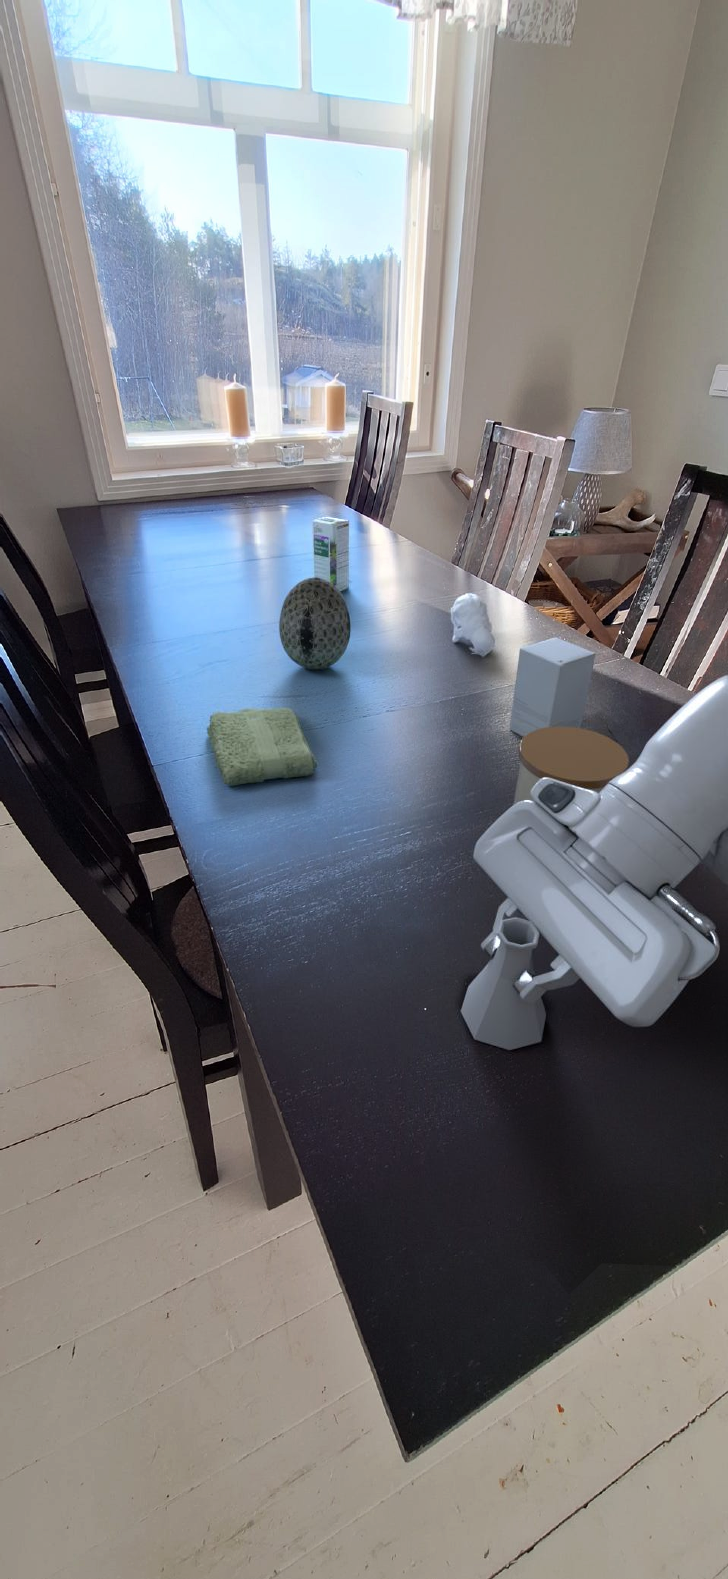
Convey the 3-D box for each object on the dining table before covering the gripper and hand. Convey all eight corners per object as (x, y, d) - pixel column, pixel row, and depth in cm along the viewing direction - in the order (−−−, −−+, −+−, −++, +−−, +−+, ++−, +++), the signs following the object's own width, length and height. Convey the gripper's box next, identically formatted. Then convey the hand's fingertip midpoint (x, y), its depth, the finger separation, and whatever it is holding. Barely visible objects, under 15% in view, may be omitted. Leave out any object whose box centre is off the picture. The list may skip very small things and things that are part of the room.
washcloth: (294, 716, 103) (293, 696, 101) (321, 779, 89) (320, 757, 87) (205, 727, 100) (202, 707, 98) (218, 794, 86) (215, 772, 84)
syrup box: (313, 589, 151) (310, 520, 143) (329, 583, 155) (328, 515, 147) (333, 595, 148) (333, 524, 140) (350, 587, 152) (350, 518, 144)
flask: (457, 980, 62) (467, 898, 56) (538, 982, 62) (556, 900, 56) (464, 1050, 56) (476, 966, 50) (553, 1053, 56) (576, 969, 50)
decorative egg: (293, 650, 123) (288, 565, 115) (357, 656, 121) (357, 570, 113) (272, 677, 114) (266, 587, 105) (341, 684, 112) (341, 593, 103)
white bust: (483, 588, 125) (510, 617, 116) (476, 631, 131) (502, 662, 122) (450, 590, 124) (475, 620, 115) (445, 634, 129) (468, 665, 121)
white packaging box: (581, 736, 99) (598, 653, 92) (544, 750, 95) (560, 665, 88) (542, 715, 104) (556, 635, 97) (506, 728, 100) (518, 646, 93)
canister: (593, 796, 86) (610, 726, 81) (622, 856, 77) (644, 781, 71) (500, 796, 86) (511, 725, 80) (518, 855, 77) (531, 780, 71)
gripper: (748, 953, 48) (607, 1088, 50) (563, 798, 63) (461, 906, 65) (720, 926, 44) (568, 1074, 46) (529, 767, 59) (422, 884, 61)
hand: (504, 974), depth 56 cm, fingers closed on flask, 3 cm apart
